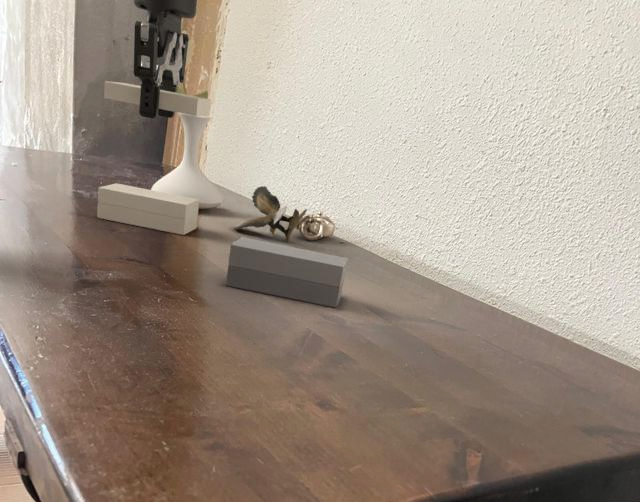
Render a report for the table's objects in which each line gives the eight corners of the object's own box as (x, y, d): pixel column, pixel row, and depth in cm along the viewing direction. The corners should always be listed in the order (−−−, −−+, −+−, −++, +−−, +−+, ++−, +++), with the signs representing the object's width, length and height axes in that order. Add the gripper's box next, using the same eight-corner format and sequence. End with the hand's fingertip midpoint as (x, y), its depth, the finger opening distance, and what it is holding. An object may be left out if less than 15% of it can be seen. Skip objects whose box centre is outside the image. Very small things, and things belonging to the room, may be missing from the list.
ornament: (299, 229, 118) (303, 206, 117) (339, 239, 117) (344, 215, 115) (280, 234, 111) (284, 210, 110) (323, 245, 110) (327, 220, 108)
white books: (96, 217, 100) (98, 187, 98) (114, 212, 105) (116, 183, 104) (183, 235, 99) (186, 204, 98) (196, 228, 105) (199, 199, 103)
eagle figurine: (305, 230, 112) (253, 206, 113) (309, 193, 106) (254, 168, 107) (280, 262, 108) (227, 236, 110) (282, 225, 102) (226, 199, 103)
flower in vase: (201, 201, 128) (217, 39, 117) (234, 215, 120) (254, 43, 109) (128, 195, 120) (139, 22, 110) (158, 211, 112) (173, 25, 102)
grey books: (225, 285, 79) (230, 244, 77) (236, 276, 84) (241, 236, 82) (336, 307, 79) (343, 266, 77) (340, 297, 83) (347, 258, 81)
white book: (104, 98, 94) (104, 81, 93) (122, 99, 99) (123, 82, 98) (196, 115, 93) (198, 98, 92) (209, 115, 99) (211, 99, 98)
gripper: (157, -27, 97) (147, 111, 103) (115, -48, 83) (107, 112, 90) (213, -17, 96) (200, 121, 103) (180, -37, 83) (167, 123, 90)
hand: (157, 116), depth 97 cm, fingers closed on white book, 6 cm apart
